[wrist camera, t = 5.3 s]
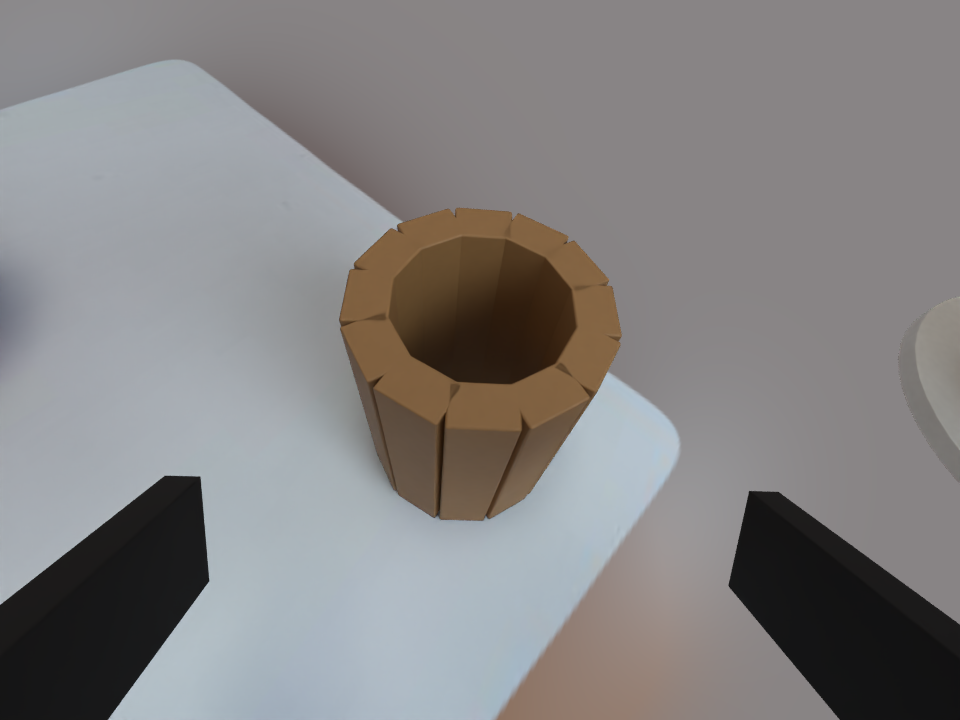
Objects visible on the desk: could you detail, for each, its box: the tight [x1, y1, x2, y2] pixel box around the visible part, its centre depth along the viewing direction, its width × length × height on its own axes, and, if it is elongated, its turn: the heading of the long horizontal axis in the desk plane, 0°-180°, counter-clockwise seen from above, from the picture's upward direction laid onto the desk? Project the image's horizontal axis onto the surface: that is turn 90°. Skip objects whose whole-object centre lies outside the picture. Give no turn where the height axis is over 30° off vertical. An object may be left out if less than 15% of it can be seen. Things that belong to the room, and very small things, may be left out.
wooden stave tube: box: [339, 208, 622, 521], centre depth 21 cm, size 10×10×12 cm
